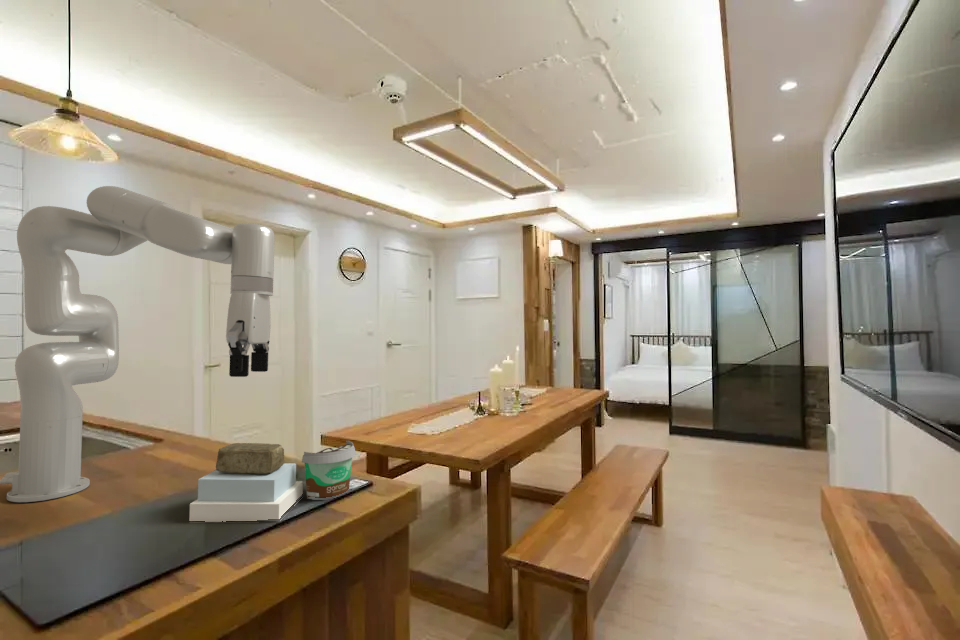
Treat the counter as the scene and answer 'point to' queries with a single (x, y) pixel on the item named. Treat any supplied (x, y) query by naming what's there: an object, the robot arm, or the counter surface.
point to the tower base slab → (245, 508)
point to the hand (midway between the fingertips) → (249, 373)
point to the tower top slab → (246, 485)
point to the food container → (328, 471)
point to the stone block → (250, 458)
